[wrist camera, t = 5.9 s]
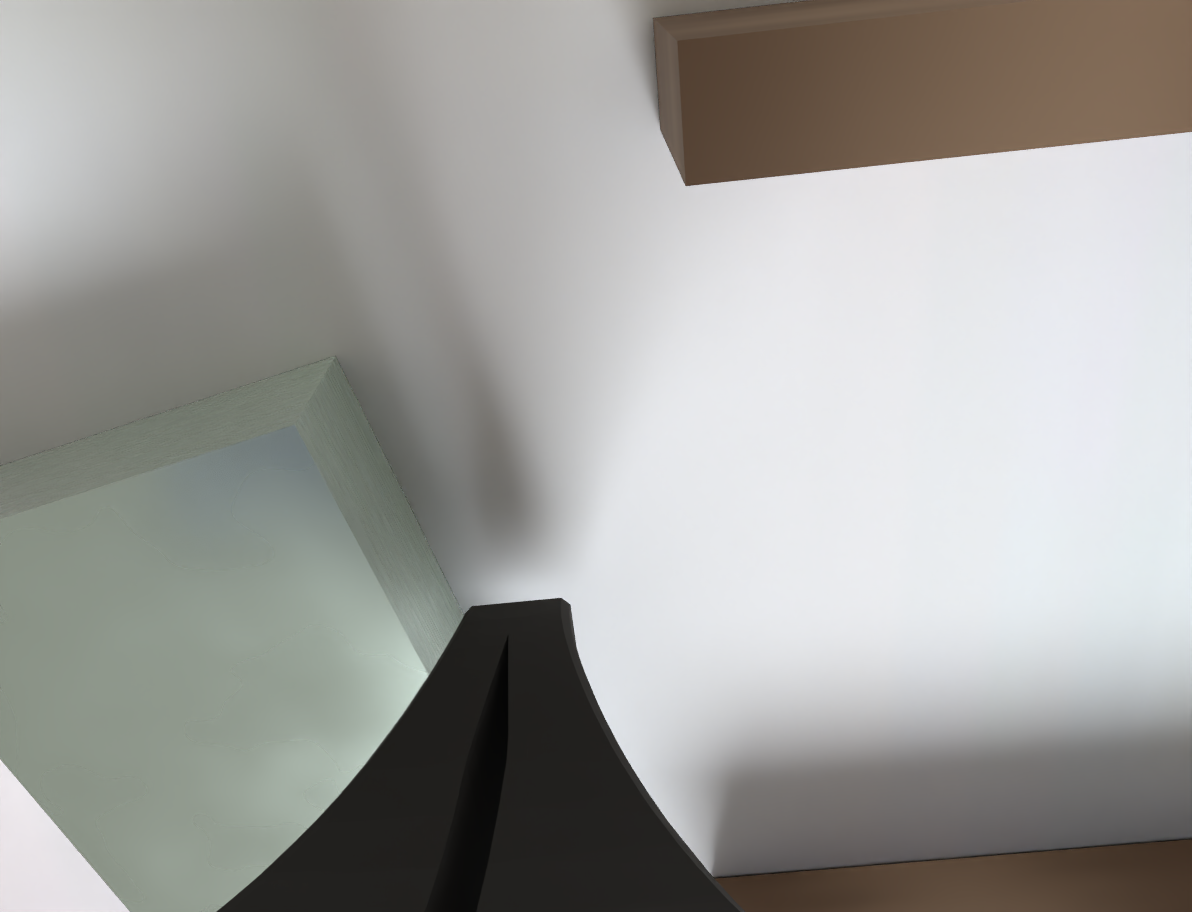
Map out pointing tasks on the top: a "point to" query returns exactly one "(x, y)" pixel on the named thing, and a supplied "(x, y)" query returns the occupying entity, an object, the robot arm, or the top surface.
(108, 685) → the cover plate
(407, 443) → the top surface
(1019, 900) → the walnut box
